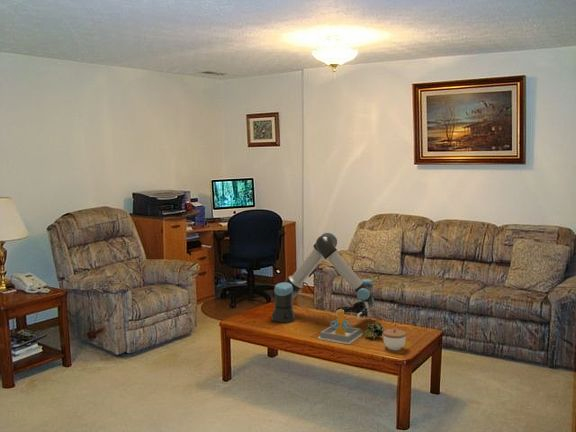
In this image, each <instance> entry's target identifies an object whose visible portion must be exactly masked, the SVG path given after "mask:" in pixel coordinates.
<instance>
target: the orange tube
mask: <svg viewBox="0 0 576 432" xmlns="http://www.w3.org/2000/svg"><path fill="white" fill-rule="evenodd" d="M336 311H337V316H336V319H335V320H331V321H330V323H329V327H330V326H331V327H332V328H335V334H339V335H345V330H346V328H350V327H352V324H351V321H347V320H346V319H345V312H344V310H337V309H336ZM333 323H334V327H333V326H332V325H333ZM347 324H349V326H347Z"/></svg>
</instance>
